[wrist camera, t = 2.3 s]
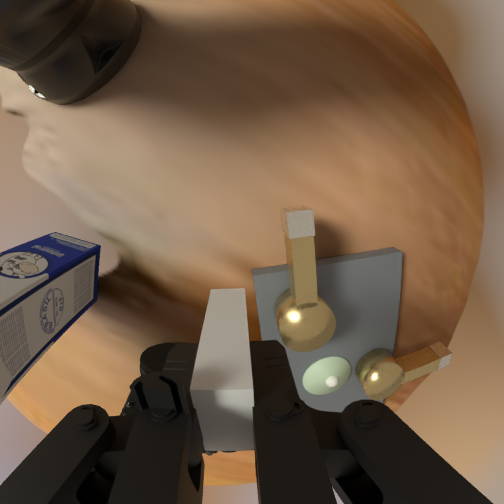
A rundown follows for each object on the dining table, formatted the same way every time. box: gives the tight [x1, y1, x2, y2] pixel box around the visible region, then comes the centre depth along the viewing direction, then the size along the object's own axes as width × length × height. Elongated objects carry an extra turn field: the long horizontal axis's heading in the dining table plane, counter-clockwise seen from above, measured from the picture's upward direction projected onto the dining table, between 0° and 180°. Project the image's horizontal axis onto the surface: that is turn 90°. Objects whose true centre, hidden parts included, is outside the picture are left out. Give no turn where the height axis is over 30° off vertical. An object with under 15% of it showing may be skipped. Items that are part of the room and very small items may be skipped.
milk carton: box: [0, 232, 101, 404], centre depth 17 cm, size 7×7×20 cm
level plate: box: [252, 247, 402, 412], centre depth 30 cm, size 28×16×3 cm, turn 8°
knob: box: [274, 206, 336, 352], centre depth 23 cm, size 12×5×4 cm, turn 7°
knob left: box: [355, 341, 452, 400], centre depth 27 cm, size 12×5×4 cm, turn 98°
